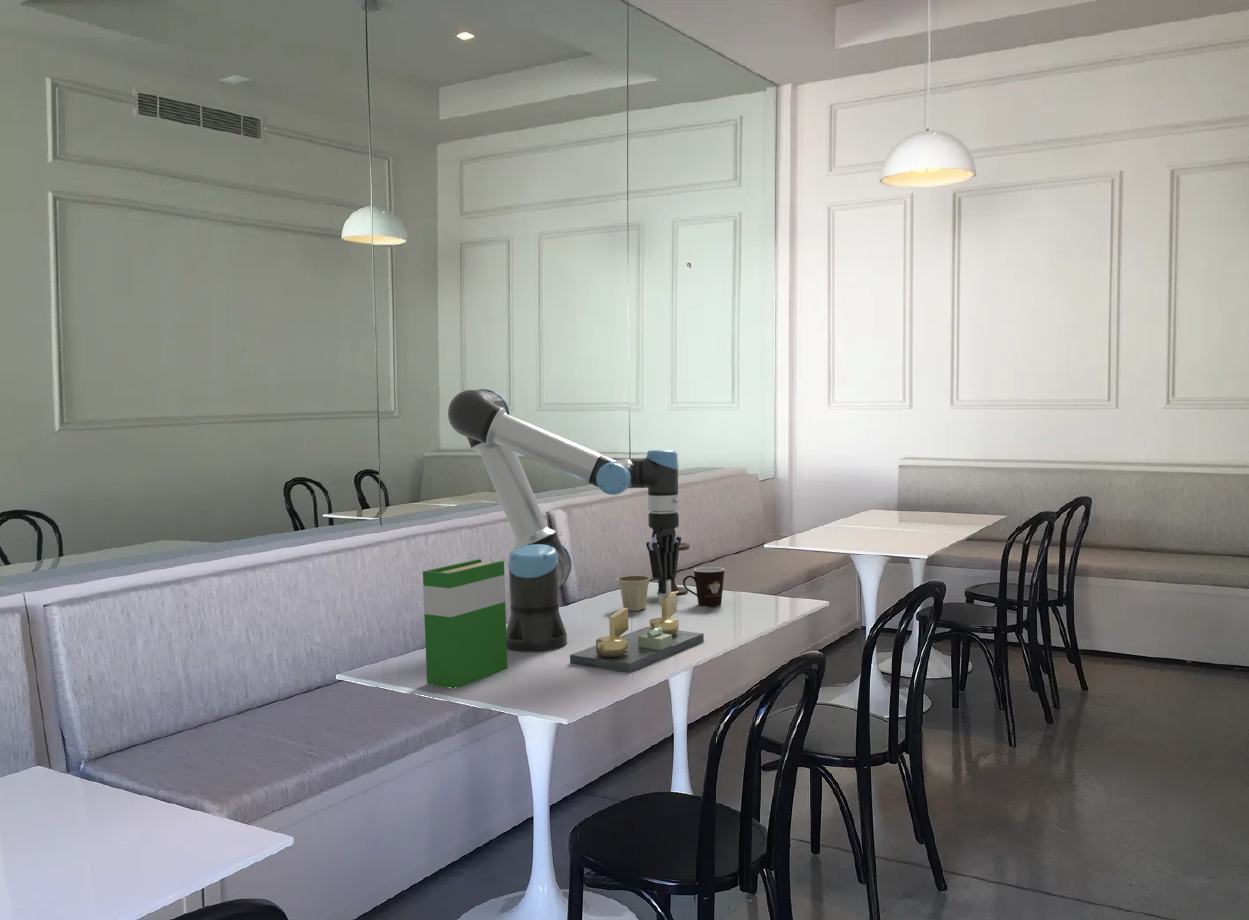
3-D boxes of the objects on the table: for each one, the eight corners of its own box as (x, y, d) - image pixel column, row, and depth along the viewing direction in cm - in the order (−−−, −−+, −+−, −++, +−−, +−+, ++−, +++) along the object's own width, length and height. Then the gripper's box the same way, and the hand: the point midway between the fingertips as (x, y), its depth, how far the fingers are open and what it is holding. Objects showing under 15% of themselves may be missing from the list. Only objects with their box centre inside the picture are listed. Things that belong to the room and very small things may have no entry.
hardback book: (481, 664, 237) (478, 559, 235) (507, 668, 233) (504, 561, 231) (427, 684, 222) (422, 571, 221) (453, 688, 218) (449, 573, 217)
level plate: (629, 672, 227) (628, 645, 227) (570, 663, 236) (569, 637, 236) (703, 641, 253) (703, 617, 253) (647, 634, 262) (647, 610, 262)
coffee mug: (725, 601, 301) (724, 566, 300) (725, 607, 292) (724, 572, 292) (684, 601, 302) (683, 567, 301) (683, 608, 293) (682, 572, 293)
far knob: (674, 636, 249) (674, 603, 249) (646, 635, 251) (645, 602, 251) (688, 623, 263) (687, 592, 262) (661, 622, 265) (660, 591, 264)
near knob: (622, 657, 231) (621, 621, 231) (592, 655, 233) (591, 620, 233) (640, 642, 244) (639, 608, 244) (612, 641, 247) (611, 607, 246)
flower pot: (612, 607, 296) (611, 577, 296) (642, 604, 300) (641, 574, 300) (626, 613, 288) (625, 582, 287) (657, 609, 292) (656, 579, 291)
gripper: (662, 515, 254) (664, 611, 256) (689, 509, 265) (691, 602, 267) (636, 513, 259) (638, 608, 260) (664, 508, 269) (666, 599, 271)
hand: (665, 605), depth 263 cm, fingers closed
